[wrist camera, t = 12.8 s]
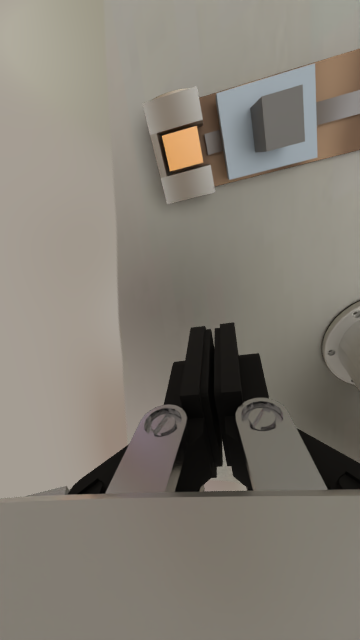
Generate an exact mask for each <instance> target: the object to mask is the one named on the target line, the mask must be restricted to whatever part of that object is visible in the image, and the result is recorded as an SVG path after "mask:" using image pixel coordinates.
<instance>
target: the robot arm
mask: <svg viewBox="0 0 360 640" xmlns="http://www.w3.org/2000/svg"><path fill="white" fill-rule="evenodd" d="M322 353H323V357H324V360H325V362H326V364H327V366H328V368H329V369H330V371H331V372H332V373H333V374H334V375H335V376H336V377H337V378H339V379H341V380H343V381H344V382H347V383H350V384H353V385H356V386H357V388H358V389H359V391H360V301H359V302H357V303H355V304H353V305H351V306H350V307H349V308H347V309H346V310H344V311H343V312H342V313H341V314H340V315H339V316H338V317H337V318H335V320H334V321H333V322H332V324H331V325H330V326H329V328H328V330H327V332H326V334H325V336H324V340H323V344H322ZM222 440H223V446H224V451H225V456H226V462H227V466H232V472H233V476H234V477H235V478H236V479H237V480H239V481H240V482H241V483H242V484H243V485H245V486H246V488H247V491H214V492H213V491H211V492H204V484H205V483H206V482H207V481H208V480H209V479H210V478H217V467H218V466H222V465H223V459H222ZM0 640H360V463H358V462H356V461H354V460H353V459H351V458H349V457H347V456H345V455H344V454H342V453H340V452H338V451H337V450H335V449H333V448H331V447H329V446H328V445H326V444H324V443H322V442H320V441H319V440H317V439H315V438H313V437H311V436H310V435H308V434H306V433H304V432H302V431H301V430H299V429H297V428H296V426H295V424H294V422H293V420H292V418H291V417H290V415H289V413H288V411H287V409H286V408H285V407H284V405H282V404H281V403H279V402H278V401H275V400H273V399H269V396H268V392H267V387H266V383H265V378H264V373H263V369H262V364H261V360H260V356H259V353H257V354H247V355H238V348H237V341H236V333H235V326H234V323H226V324H220V328H215V349H214V344H213V338H212V332H211V329H207V330H206V328H205V326H202V327H193V328H191V330H190V336H189V342H188V348H187V354H186V360H185V361H179V362H174V363H173V366H172V371H171V375H170V380H169V384H168V388H167V393H166V397H165V402H164V405H161V406H158V407H155V408H153V409H152V410H150V411H149V412H147V413H146V414H145V415H144V416H143V418H142V419H141V421H140V423H139V425H138V427H137V429H136V431H135V433H134V435H133V437H132V439H131V441H130V443H129V445H127V446H126V447H125V448H123V449H122V450H120V451H119V452H118V453H116V454H115V455H114V456H112V457H111V458H109V459H108V460H107V461H105V462H104V463H102V464H101V465H100V466H98V467H97V468H95V469H94V470H93V471H91V472H90V473H88V474H87V475H86V476H84V477H83V478H82V479H80V480H79V481H78V482H77V483H76V484H75V485H74V486H73V487H72V489H70V490H68V488H67V486H65V487H61V488H57V489H53V490H49V491H45V492H41V493H37V494H33V495H29V496H25V497H15V498H3V499H0Z"/></svg>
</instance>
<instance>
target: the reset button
mask: <svg viewBox="0 0 360 640" xmlns="http://www.w3.org/2000/svg"><path fill="white" fill-rule="evenodd" d="M162 139H163V143H164V147H165V152H166V156H167V160H168V165H169V169H170V171H174V170H177V169H181V168H185V167H188V166H192V165H196V164H200V163H203V157H202V151H201V146H200V140H199V135H198V129H197V126H194V127H191V128H187V129H184V130H180V131H177V132H173V133H170V134H166V135H163V136H162Z"/></svg>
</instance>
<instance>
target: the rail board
mask: <svg viewBox="0 0 360 640" xmlns="http://www.w3.org/2000/svg"><path fill="white" fill-rule="evenodd" d="M311 64H314V63H311ZM311 64H308V65H311ZM305 66H307V65H305ZM301 67H304V66H301ZM301 67H298V68H301ZM298 68H295V69H298ZM292 70H294V69H292ZM288 71H291V70H288ZM288 71H285V72H288ZM282 73H284V72H282ZM279 74H281V73H279ZM275 75H278V74H275ZM275 75H272V76H275ZM269 77H271V76H269ZM266 78H268V77H266ZM262 79H265V78H262ZM262 79H259V80H262ZM256 81H258V80H256ZM315 81H316V119H317V158H314V159H310V160H306V161H302V162H298V163H294V164H290V165H286V166H282V167H278V168H274V169H270V170H266V171H262V172H258V173H255V174H251V175H247V176H243V177H239V178H235V179H231V180H229V179H228V177H227V171H226V164H225V158H224V151H223V144H222V138H221V131H220V125H219V118H218V112H217V105H216V93H213V94H210V95H207V96H204V97H200V98H199V95H198V89H197V86H195V87H192V88H185V89H179V90H175V91H171V92H168V93H165V94H162V95H160V96H158V97H156V98H154V99H153V100H151V101H148V102H144V103H142V104H143V108H144V113H145V117H146V121H147V125H148V129H149V133H150V137H151V141H152V145H153V149H154V153H155V157H156V161H157V165H158V170H159V174H160V178H161V182H162V186H163V190H164V194H165V198H166V202H167V204H171V203H175V202H179V201H183V200H187V199H191V198H195V197H199V196H203V195H207V194H211V193H215V188H214V186H218V185H222V184H226V183H230V182H234V181H238V180H242V179H246V178H250V177H254V176H258V175H262V174H266V173H270V172H274V171H278V170H282V169H286V168H290V167H294V166H297V165H301V164H305V163H309V162H313V161H317V160H321V159H325V158H329V157H333V156H337V155H341V154H345V153H349V152H353V151H357V150H360V49H357V50H354V51H350V52H347V53H344V54H341V55H337V56H334V57H331V58H328V59H324V60H321V61H318V62H315ZM252 82H255V81H252ZM252 82H249V83H252ZM249 83H246V84H249ZM243 85H245V84H243ZM239 86H242V85H239ZM239 86H236V87H239ZM233 88H235V87H233ZM230 89H232V88H230ZM226 90H229V89H226ZM226 90H223V91H226ZM220 92H222V91H220ZM217 93H219V92H217ZM194 126H197V129H198V135H199V140H200V146H201V151H202V157H203V163H200V164H196V165H192V166H188V167H185V168H181V169H177V170H174V171H170V169H169V165H168V160H167V156H166V152H165V147H164V143H163V139H162V136H163V135H166V134H170V133H173V132H177V131H180V130H184V129H187V128H191V127H194Z"/></svg>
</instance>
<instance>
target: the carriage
mask: <svg viewBox="0 0 360 640" xmlns="http://www.w3.org/2000/svg"><path fill="white" fill-rule="evenodd" d="M216 105H217V112H218V118H219V125H220V131H221V138H222V144H223V151H224V158H225V164H226V171H227V177H228V179H229V180H231V179H235V178H239V177H243V176H247V175H251V174H255V173H258V172H262V171H266V170H270V169H274V168H278V167H282V166H286V165H290V164H294V163H298V162H302V161H306V160H310V159H314V158H317V119H316V81H315V63H314V64H311V65H307V66H304V67H301V68H298V69H294V70H291V71H288V72H284V73H281V74H278V75H275V76H271V77H268V78H265V79H262V80H258V81H255V82H252V83H249V84H245V85H242V86H239V87H235V88H232V89H229V90H226V91H222V92H219V93H216Z"/></svg>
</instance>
